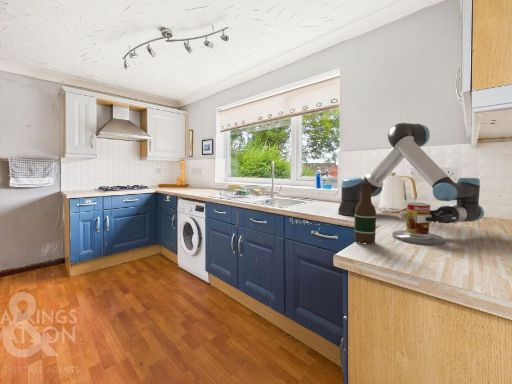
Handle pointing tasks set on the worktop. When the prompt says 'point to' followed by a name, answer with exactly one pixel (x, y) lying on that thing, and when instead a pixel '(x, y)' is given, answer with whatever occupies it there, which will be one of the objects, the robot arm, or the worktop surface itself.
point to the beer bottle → (365, 217)
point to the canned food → (412, 214)
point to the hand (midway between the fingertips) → (408, 217)
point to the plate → (418, 238)
